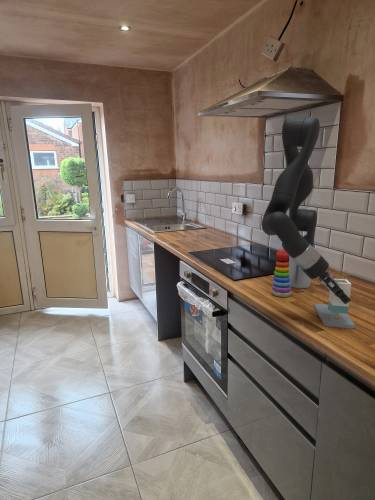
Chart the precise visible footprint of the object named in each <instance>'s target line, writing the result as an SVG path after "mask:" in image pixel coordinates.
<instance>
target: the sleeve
mask: <svg viewBox="0 0 375 500" xmlns="http://www.w3.org/2000/svg"><path fill="white" fill-rule="evenodd" d="M334 279H335V280H336V282H337V283H338V284H339V287H340V288H341V289H342V290H343V292H344V293H345V294H346V295H347V296H348V297H349V298H350V299H351V291H352V283H351V282H350V281H349V280H348V279H345V278H334ZM333 285H334V284H333ZM338 290H339V289H338ZM338 290H336V291H335V292H337V291H338ZM327 303H328V304H327V305H328V308H329V310H330V311H331V312H332V313H343V314H347V315H348V312H349V305H350V302H348V303H347V304H344V303H343V302H342V300H341V299H340V298H339V297H337V296H335V294H334V293H333V292H332V291H330V290H329V293H328V302H327Z"/></svg>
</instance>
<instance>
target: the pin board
mask: <svg viewBox="0 0 375 500" xmlns="http://www.w3.org/2000/svg"><path fill="white" fill-rule="evenodd" d="M313 308H314V310H315V311H316V313H317V315H318V317H319V319H320V320H321V322H322V324H323V325H324V327H328V328H329V327H331V328H340V329H341V328H344V329H345V328H346V329H356V324H355V323H354V321H353V320H352V319H351V318H350V316H349V315H348V314H343V313H332V312H331V311H330V310H329V308H328V304H327V303H325V304H323V303H314V304H313Z"/></svg>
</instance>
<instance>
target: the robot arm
mask: <svg viewBox="0 0 375 500" xmlns="http://www.w3.org/2000/svg"><path fill="white" fill-rule="evenodd" d="M320 126H321V123H320V119H318V117H314V116H290V117H287V118H285V119H284V121H283V123H282V127H281V128H282V129H281V141H282V146H283V147H282V148H283V152H284V157H285V165H286V167H285V169H284V170H282V172H281V173H280V174H279V175H278V177H277V179H276V180H275V181H276V182H275V185H274V187H273V191H272V195H271V199H270V201H269V203H268V205H267V208H266V209H265V211H264V214H263V216H262V219H261V230H262V232H263V233H264V234H266V235H268V236H276V237H278V239H279V240H280V242H281V247H282V249H284V250H285V251H286V252H287V253H288V254H289V255H290V256H289V261H288V262H289V266H288V267H289V273H290V275H289V276H290V282H291V285H290V286H291V288H295V289H307V288H310V285H311V280H312V279H313V280H314V279H318V280H319V282H320V283H321V285H324V286H325V288H327V289H328V290H329V292H330V291H332V292H333V293H334V294H335V296H337V297H339V298H340V299H341V300H342V302H343V303H344V304H347V303H348V302H349V303H350V302H351V297H350V298H349V297H348V296H347V295H346V294H345V293H344V292H343V290H342V289H341V288H340V287H339V284H338V283H337V282H336V280H335V279H336V278H334V276H333V275H332V274H331V273H330V272H329V271H328V270H329V267H330V263H329V262H328V260H326V259H325V258H324V257H323V255H322V254H321V253H320V252H319V251H318V250H317V249H316V248H315V247H314V245H315V236H316V227H317V221H318V212H317V210H314V209H301V208H300V206H301V205H302V204H303V202H304V201H305V200H307V198H308V197H309V196H310V195H311V193H312V192H313V190H314V189H313V188H314V172H313V170H312V168H311V166H310V164H309V161H310V158H311V156H312V153H313V152H314V149H315V146H316V145H317V142H318V138H319V135H320ZM298 148H301V149H300V151H299V149H298ZM287 212H288V215H287ZM300 232H305V233H306V234H305V235H302V234H301V233H300ZM333 284H334V285H333ZM338 289H339V290H338ZM336 290H338V291H337V292H335V291H336Z"/></svg>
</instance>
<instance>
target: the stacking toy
mask: <svg viewBox="0 0 375 500" xmlns="http://www.w3.org/2000/svg"><path fill="white" fill-rule="evenodd" d="M275 258H276V259H277V261H276V262H275V265H276V266H275V267H274V269H275V270H274V271H273V274H274V275H273V280H272V285H271V290H270V293H271V295H273V296H275V297H279V298H288V297H290V296H291V295H292V291H291V290H292V287H291V286H290V285H291V282H290V276H289V275H290V273H289V262H290V261H288V260H290V255H289V254H288V253H287V252H286V251H285V250H284V249H283V248H282V249H281V248H280V249H279V250H278V251H277V252H276V257H275Z"/></svg>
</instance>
